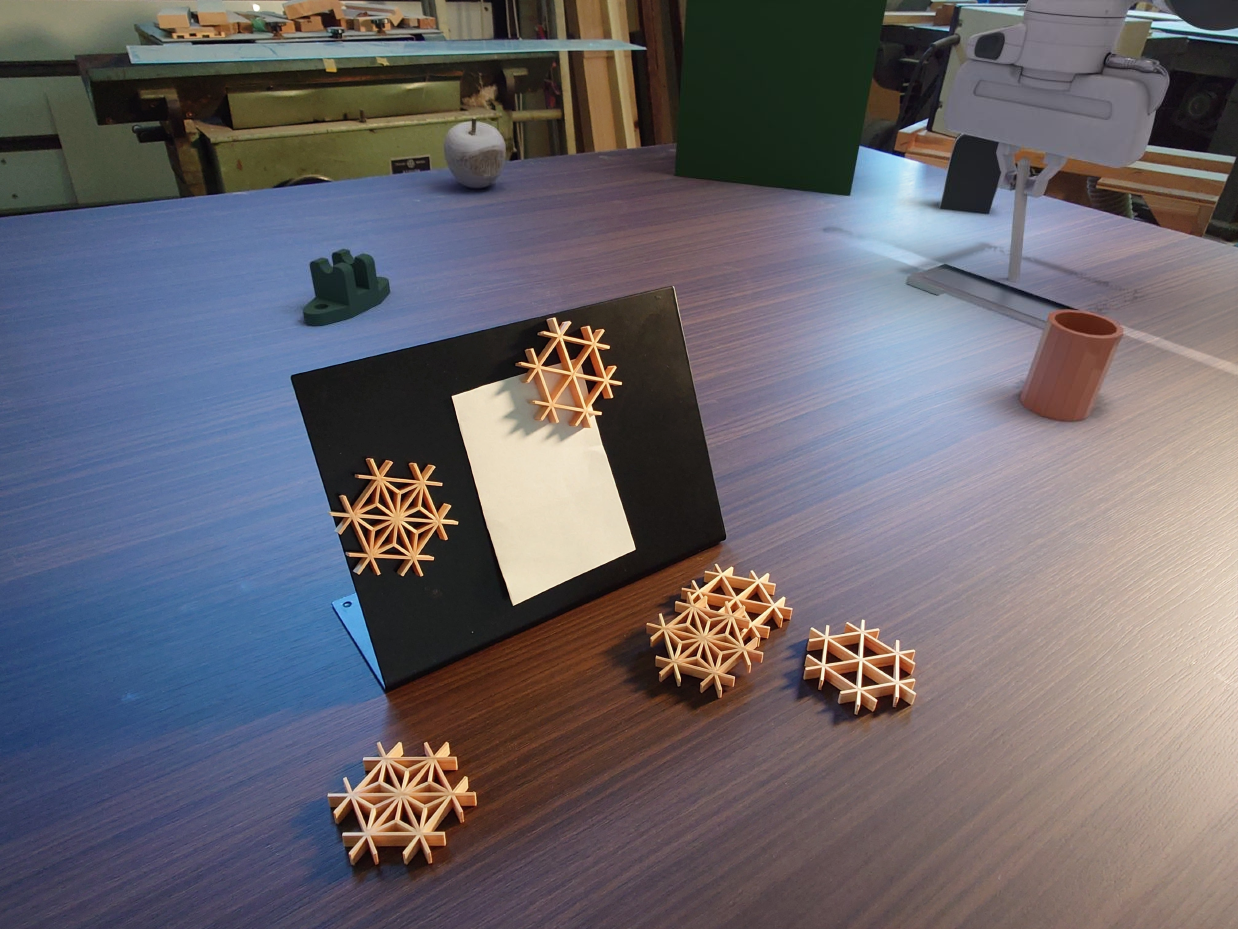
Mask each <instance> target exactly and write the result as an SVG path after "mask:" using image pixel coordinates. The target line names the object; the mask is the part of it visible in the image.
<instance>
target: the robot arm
mask: <svg viewBox="0 0 1238 929" xmlns="http://www.w3.org/2000/svg"><path fill="white" fill-rule="evenodd" d="M1138 3H1146V4H1148V5H1149V6H1151V7H1153V8H1155V9H1157V10H1160V11H1162V12H1164V13H1167V14H1168V15H1172V16H1175V17H1178V18H1179V19H1181V20H1182V21H1184V22H1185V23H1186V24H1187V25H1190V26H1192V27H1194V28H1197V29H1200V30H1204V31H1211V32H1221V31H1224V32H1225V31H1231V30H1235V29H1238V0H1028V1H1027V2H1026V5H1025V7H1024V11H1023V15H1022V19H1021V21H1020V22H1019V23H1018V24H1010V25H1006V26H1003V27H1002V28H997V29H992V30H989V31H984V32H979V33H975V34H973V35H971V36H970V37H969V38H968V40H967V42H966V46H965V55H966V57H967V58H968V60H966V61H965V62H963V63H962V64H961V66H960V67H959V69H958V70H957V72H956V74H955V76H954V79H953V82H952V84H951V87H950V91H949V93H948V96H947V100H946V104H945V108H944V111H943V112H944V113H943V122H944V125H945V128H946V130H947V131H949V132H952V133H958V134H960V133H962V134H966V135H970V136H975V137H979V138H984V139H988V140H993V141H997V142H999V144H998V148H997V151H996V154H997V159H998V163H999V167H1000V171H1001V175H1000V179H999V182H998V189H1001V190H1005V191H1009V192H1013V191H1015V189H1016V177H1017V167H1016V166H1017V165H1016V161H1015V154H1018V153H1019V152H1020V150H1021V148H1026V149H1029V150H1034V151H1038V152H1043V153H1044V157H1043V160H1042V164H1044V165H1046V166H1045V167H1044V168H1043V169H1042V170H1041V171H1040V173H1039V174H1037V175H1034V176H1029V178H1027V180H1026V184H1025V185H1026V187H1025V188H1024V190H1023V194H1024V195H1027V197H1031V198H1035V199H1038V198H1041V197H1043V196H1044V194H1045V192H1046V189H1047V186H1048V184H1049V180H1051V179H1052V178H1053V177H1054V176H1055V175H1056V174H1057V173H1058V172H1059V171H1060V170H1061V169H1063V168H1064V166H1065V165H1066V164H1067V161H1068V158H1069V159H1072V160H1073V159H1074V160H1079V161H1083V162H1087V163H1092V164H1096V165H1101V166H1104V167H1110V168H1114V169H1120V168H1125V167H1129V166H1131V165H1133V164H1134V163H1136V162H1138V161H1139V160H1140V159H1141V158H1142V157H1143V156H1144V155H1145V153H1146V150H1147V147H1148V144H1149V142H1150V138H1151V134H1152V130H1153V126H1154V123H1155V118H1156V114H1157V113H1156V112H1157V110H1158V109H1159V108H1160V106H1161V105H1162V103H1163V101H1164V98H1165V97H1166V93H1167V91H1168V88H1169V86H1170V75H1169V72H1168V71H1167V70H1166V68H1165V67H1164V66H1162V65H1161V64H1160V61H1159V60H1156V59H1153V58H1146V57H1145V58H1139V57H1133V56H1129V55H1124V54H1118V53H1115V51H1116V48H1117V45H1118V43H1119V39H1120V37H1121V33H1122V31H1123V29H1124V28H1123V27H1124V25H1125V22H1126V19H1127V16H1128V13H1129V11H1130V9H1131V7H1132V6H1134V4H1138ZM1156 72H1159V73H1156Z"/></svg>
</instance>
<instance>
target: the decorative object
mask: <svg viewBox="0 0 1238 929" xmlns="http://www.w3.org/2000/svg"><path fill="white" fill-rule="evenodd" d="M506 148H507V147H506V141H505V139H504V136H503V134H501V131H499V130H498V129H497V128H496V127H494V126H493V125H492V124H491V125H490V124H489V123H486V122H482V121H477V116H472V117H471V121H463V122H460V123H457V124H456V125H454V126H452V127H451V128H450V129H449V130H448V131H447V132H446V135H445V137H444V140H443V153H444V158H445V163H446V166H447V167H448V170H449V171H450V173H451V174H452V176H453V177H454V179H455V180H456V181H457V182H458V183H460V184H462V185H463V186H465V187H467V188H470V189H483V188H487V187H489V186H491V185H492V184H494V183H495V182H496V181H497V180H498V178H499V177H500V176H501V174H502V173H503V172H502V171H503V170H504V167H505V163H506V156H507V150H506Z"/></svg>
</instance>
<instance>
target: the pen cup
mask: <svg viewBox="0 0 1238 929" xmlns="http://www.w3.org/2000/svg"><path fill="white" fill-rule="evenodd" d="M1124 331H1125V330H1124V327H1122V325H1121V324H1120V323H1118V322H1117V321H1115V320H1113V319H1111V318H1109V317H1108V316H1104V315H1101V314H1099V313H1095V312H1091V311H1085V310H1081V309H1078V310H1069V309H1068V310H1067V309H1066V310H1056V311H1054V312H1051V313H1050V314H1049V316H1048V319H1047V321H1046V324H1045V327H1044V330H1043V329H1042V333H1041V336H1040V339H1039V340H1038V341H1039V342H1038V344H1037V347H1036V350H1035V352H1034V356H1033V359H1032V360H1031V364H1030V367H1029V370H1028V373H1027V375H1026V378H1025V380H1024V384H1023V387H1022V389H1021V392H1020V395H1019V401H1020V403H1021V404H1022V405H1023V406H1024V408H1025V409H1027V410H1029V411H1030V412H1032V413H1033V414H1035V415H1039V416H1041V417H1042V418H1043V417H1044V418H1046V419H1050V420H1054V421H1058V422H1067V423H1068V422H1069V423H1071V422H1080V421H1083V420H1086V419H1088V417H1089V416H1091V412H1092V410H1093V408H1094V406H1095V403H1096V400H1097V399H1098V395H1099V393H1100V391H1101V389H1102V386H1103V383H1104V381H1105V379H1106V377H1107V374H1108V371H1109V369H1110V367H1111V364H1112V362H1113V360H1114V358H1115V355H1116V352H1117V350H1118V348H1119V345H1120V344H1121V340H1122V339H1123V335H1124Z"/></svg>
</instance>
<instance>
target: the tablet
mask: <svg viewBox="0 0 1238 929" xmlns="http://www.w3.org/2000/svg"><path fill="white" fill-rule="evenodd" d="M905 284H907V285H909V286H911V287H913V288H917V289H920V290H923V291H924V292H928V293H930V294H933V295H936V296H940V295H943V294H946V295H949V296H951V297H954V298H956V299H959V300H962V301H964V302H967V303H970V304H973V305H976V306H978V307H980V308H983V309H986V310H989V311H992V312H994V313H997V314H999V315H1002V316H1005V317H1008V318H1011V319H1014V320H1016V321H1018V322H1022V323H1024V324H1026V325H1029V326H1031V327H1035V328H1037V329H1040V330H1042V331H1043V330H1044V327H1045V324H1046V321H1047V319H1048V316H1049V314H1050V313H1051V312H1054V311H1056V310H1066V309H1067V310H1068V309H1069V310H1079V309H1078V308H1076V307H1073V306H1070V305H1066V304H1063V303H1060V302H1058V301H1055V300H1052V299H1049V298H1046V297H1043V296H1041V295H1038V294H1035V293H1033V292H1032V293H1031V292H1029V291H1026V290H1023V289H1020V288H1017V287H1014V286H1011V285H1009V284H1007V283H1006V284H1005V283H1002V282H999V281H997V280H993V279H990V278H989V277H985V276H982V275H979V274H976V273H973V272H970V271H968V270H965V269H962V268H959V267H956V266H953V265H950V264H947V263H943V264H940V265H937V266H934V267H931V268H928V269H925V270H921V271H918V272H916V273H913V274H910V275H907V277H906V280H905Z"/></svg>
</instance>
